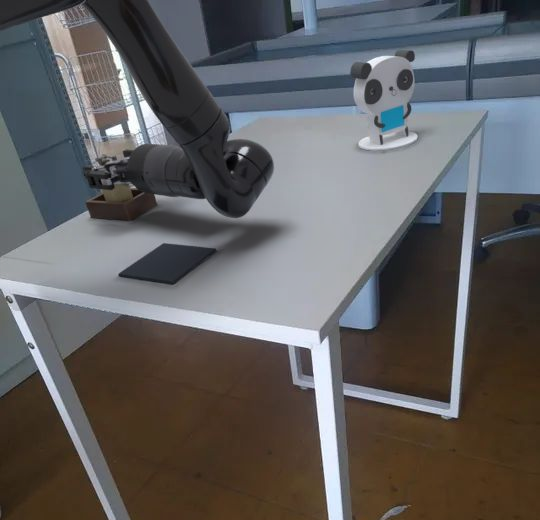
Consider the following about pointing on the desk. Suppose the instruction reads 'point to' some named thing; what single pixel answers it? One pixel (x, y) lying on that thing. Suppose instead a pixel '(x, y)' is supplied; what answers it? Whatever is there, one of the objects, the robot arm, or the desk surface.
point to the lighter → (121, 190)
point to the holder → (121, 206)
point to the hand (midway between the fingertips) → (106, 164)
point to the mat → (167, 263)
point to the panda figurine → (385, 99)
